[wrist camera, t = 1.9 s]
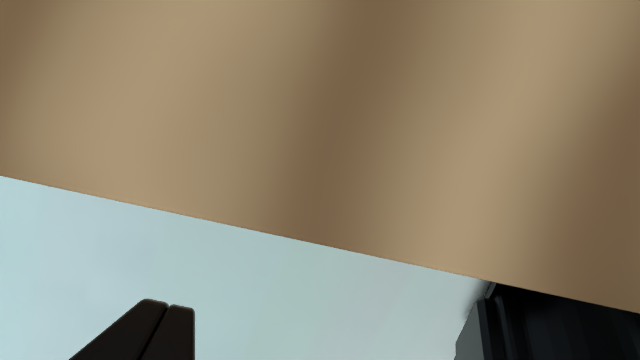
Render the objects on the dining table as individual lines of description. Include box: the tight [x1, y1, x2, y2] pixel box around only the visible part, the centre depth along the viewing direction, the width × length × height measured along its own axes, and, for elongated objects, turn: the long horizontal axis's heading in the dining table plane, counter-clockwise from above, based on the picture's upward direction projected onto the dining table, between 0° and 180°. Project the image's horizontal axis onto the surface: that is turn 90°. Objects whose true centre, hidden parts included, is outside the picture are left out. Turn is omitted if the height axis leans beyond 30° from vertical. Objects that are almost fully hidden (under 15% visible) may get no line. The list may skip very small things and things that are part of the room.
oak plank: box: [0, 0, 640, 313], centre depth 13 cm, size 20×9×1 cm
